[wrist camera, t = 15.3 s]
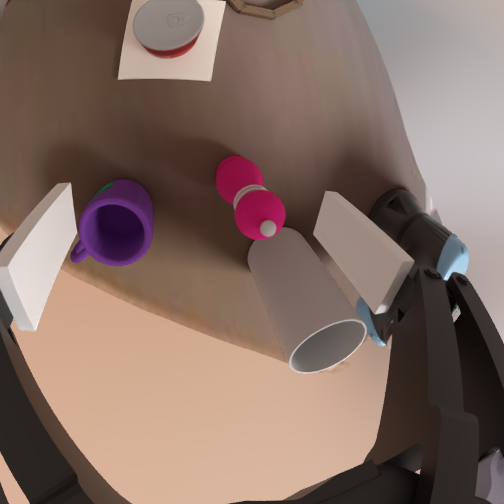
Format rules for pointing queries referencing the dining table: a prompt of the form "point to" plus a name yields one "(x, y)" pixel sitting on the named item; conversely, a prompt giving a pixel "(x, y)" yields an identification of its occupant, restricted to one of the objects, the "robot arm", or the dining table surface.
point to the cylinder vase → (304, 303)
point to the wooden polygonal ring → (263, 9)
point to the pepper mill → (249, 198)
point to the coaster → (183, 67)
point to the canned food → (168, 26)
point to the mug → (116, 224)
